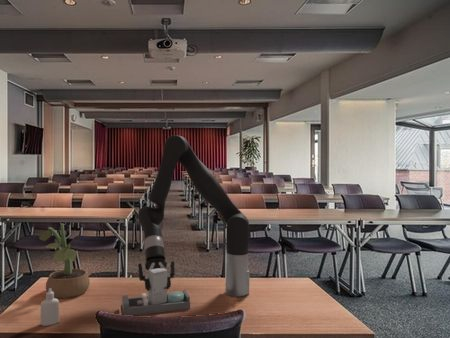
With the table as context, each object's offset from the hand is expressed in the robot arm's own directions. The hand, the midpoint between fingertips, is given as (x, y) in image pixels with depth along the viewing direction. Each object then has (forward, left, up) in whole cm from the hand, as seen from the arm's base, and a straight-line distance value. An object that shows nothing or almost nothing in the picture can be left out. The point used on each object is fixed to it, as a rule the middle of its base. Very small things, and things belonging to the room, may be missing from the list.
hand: (158, 289), depth 142 cm
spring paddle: (+6, -1, -7) cm, 9 cm away
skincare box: (0, -2, -6) cm, 6 cm away
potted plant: (+34, -26, -8) cm, 44 cm away
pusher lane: (+1, -1, -8) cm, 8 cm away
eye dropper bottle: (+37, +1, -8) cm, 38 cm away
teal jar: (-7, -1, -7) cm, 10 cm away
